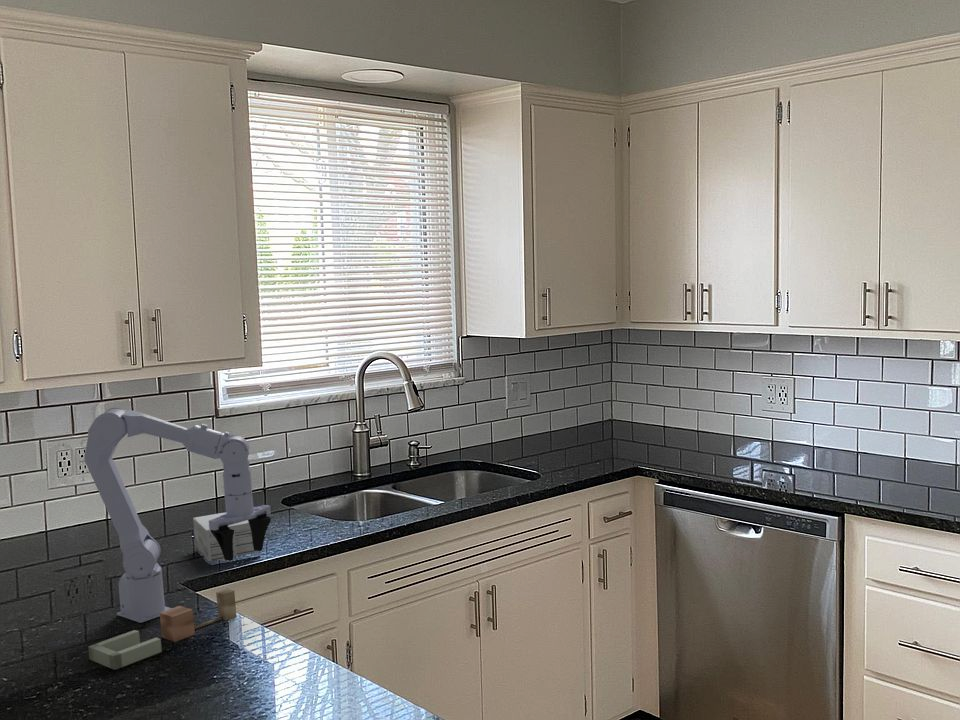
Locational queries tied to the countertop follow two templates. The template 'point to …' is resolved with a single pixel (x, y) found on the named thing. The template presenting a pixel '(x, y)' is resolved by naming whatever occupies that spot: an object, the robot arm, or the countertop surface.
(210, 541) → the supplement box
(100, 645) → the pale green u-shape
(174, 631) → the corded block
